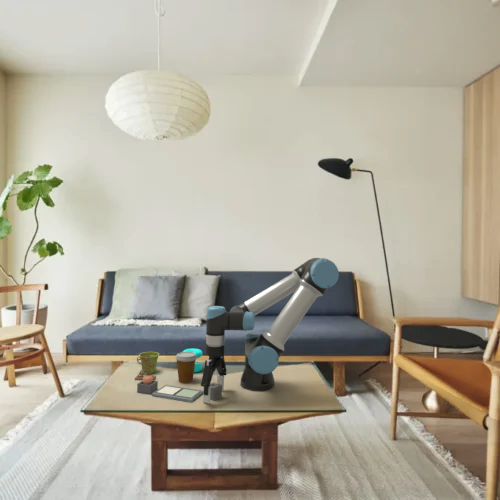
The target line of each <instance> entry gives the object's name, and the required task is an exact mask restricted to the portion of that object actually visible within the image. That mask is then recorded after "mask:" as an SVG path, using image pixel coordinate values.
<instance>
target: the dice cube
mask: <svg viewBox="0 0 500 500" xmlns="http://www.w3.org/2000/svg"><path fill="white" fill-rule="evenodd" d="M210 386H211V394H210V401H217V400H218V399H221V398H222V397H223V392H222V385H220V384H217V382H211V383H210Z"/></svg>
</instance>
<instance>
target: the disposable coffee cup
mask: <svg viewBox="0 0 500 500" xmlns="http://www.w3.org/2000/svg"><path fill="white" fill-rule="evenodd" d="M196 358H197V356H196V354H195V353H193V352H183V351H181V352H178V353H177V354H176V356H175V361H176V365H177V366H176V367H177V376H178V382H179V383H182V384H188V383H193V380H194V374H195V373H194V368H195V362H197V361H196V360H197V359H198V358H197V359H196Z"/></svg>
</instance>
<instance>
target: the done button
mask: <svg viewBox="0 0 500 500" xmlns="http://www.w3.org/2000/svg"><path fill="white" fill-rule="evenodd" d="M143 376H144V377H143V384H146V385H150V384H152V383H153V376H154V375H153V376H152V375H150V376H147V375H143Z"/></svg>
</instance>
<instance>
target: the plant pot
mask: <svg viewBox="0 0 500 500" xmlns="http://www.w3.org/2000/svg"><path fill="white" fill-rule="evenodd" d="M144 353H148V354H149V355H150V358H149V357H143V358H145V359H147V358H148V359H149V360H151V361H152V362H153V363H154V366H151V367H154V368H150V365H153V363H152V362H150V361H148V362H147V363H146V368H148V364H150V365H149V370H150V371H151V373H152V374H155V373H156V371H157V364H158V359H159V356H160V353H159V352H157V351H145V352H141V353H139V355H138V357H141V359H142V355H143V356H144V355H145V356H149V355H148V354H144ZM145 359H144V360H145ZM148 359H147V360H148ZM142 360H143V359H142ZM140 363H141V364H143V367H145V363H144V361H141V360H140ZM141 364H140V365H141ZM141 370H142V371H141V373H143V374H144V375H147V374H146V372H147V373H148V375H149V374H150V372H149V370H148V369H142V368H141ZM145 370H146V372H145ZM144 372H145V373H144Z"/></svg>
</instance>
